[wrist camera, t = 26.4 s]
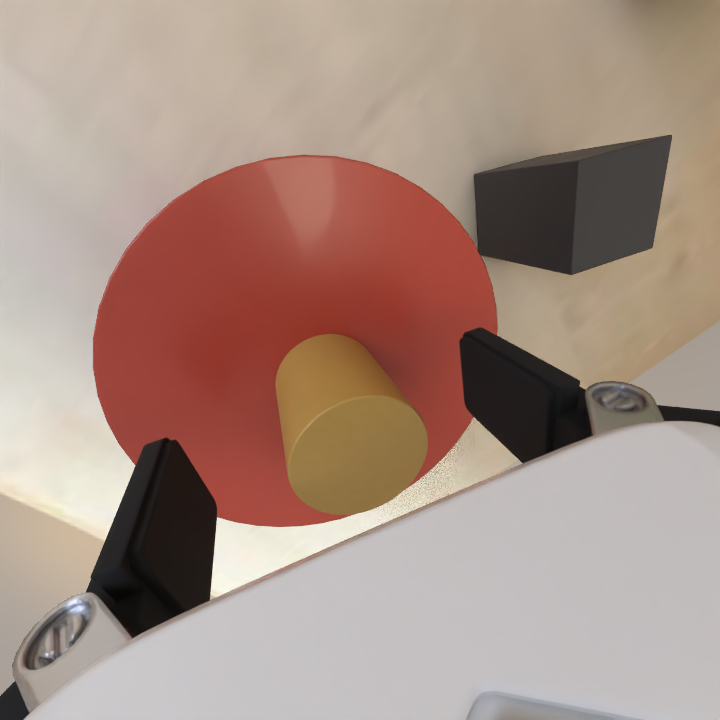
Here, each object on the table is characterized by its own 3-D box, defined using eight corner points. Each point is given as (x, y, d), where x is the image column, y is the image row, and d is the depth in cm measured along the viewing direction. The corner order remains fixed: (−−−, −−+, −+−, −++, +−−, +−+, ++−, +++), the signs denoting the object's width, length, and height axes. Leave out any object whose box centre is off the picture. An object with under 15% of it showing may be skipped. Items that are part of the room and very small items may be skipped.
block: (478, 255, 21) (571, 275, 15) (473, 174, 19) (579, 160, 13) (540, 236, 22) (653, 248, 16) (542, 155, 20) (673, 134, 14)
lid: (116, 520, 15) (44, 693, 10) (87, 89, 10) (-122, -58, 4) (430, 498, 21) (494, 602, 15) (531, 215, 15) (687, 221, 10)
